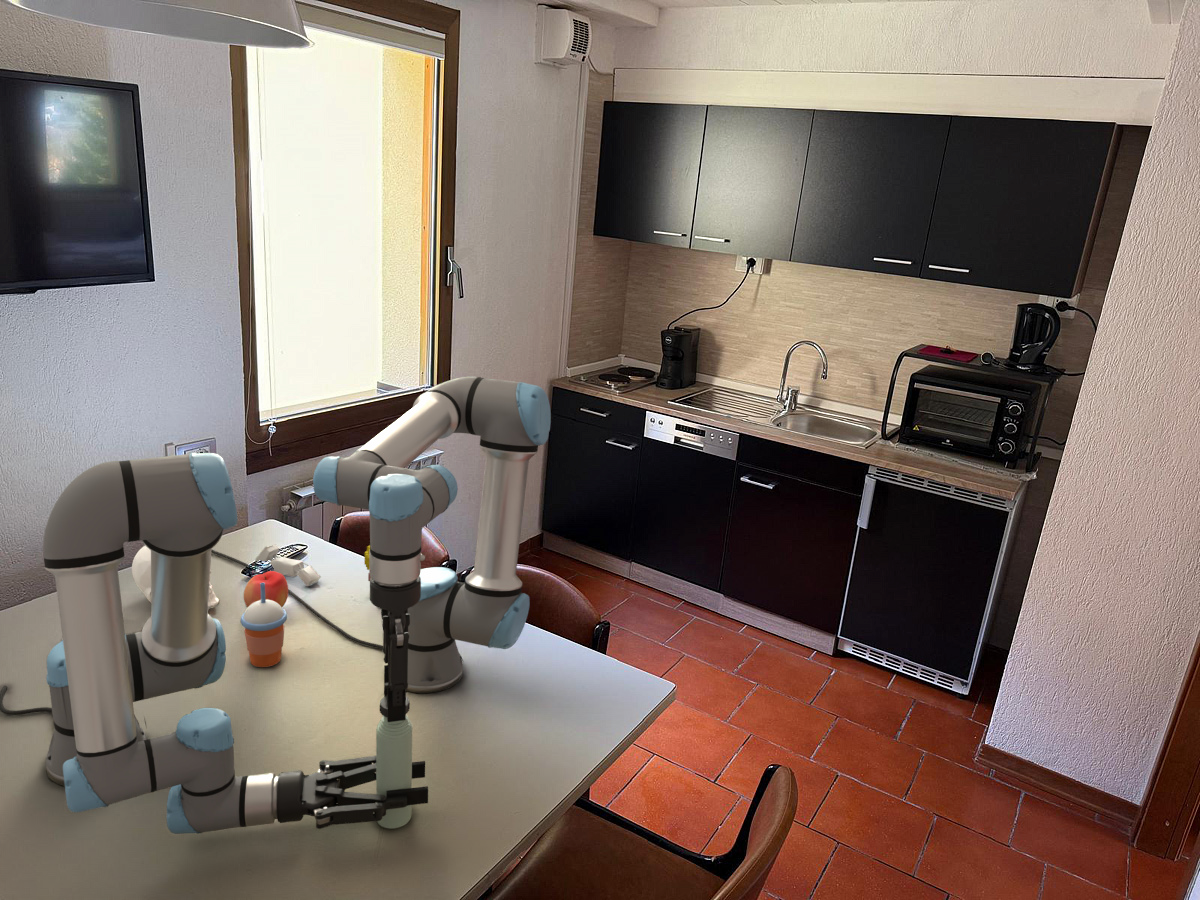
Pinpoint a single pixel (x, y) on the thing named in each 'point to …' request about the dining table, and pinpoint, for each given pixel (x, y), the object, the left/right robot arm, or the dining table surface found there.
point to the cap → (384, 706)
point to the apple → (267, 588)
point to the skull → (143, 575)
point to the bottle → (394, 766)
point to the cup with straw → (264, 631)
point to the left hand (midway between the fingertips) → (426, 781)
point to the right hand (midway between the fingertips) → (394, 710)
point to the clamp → (288, 565)
